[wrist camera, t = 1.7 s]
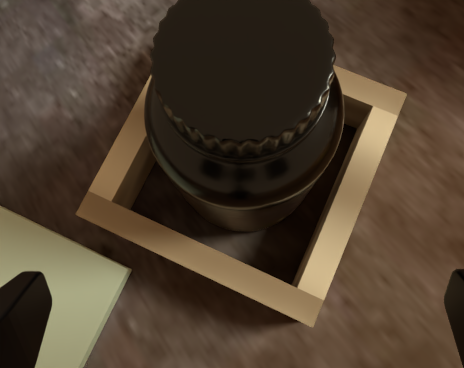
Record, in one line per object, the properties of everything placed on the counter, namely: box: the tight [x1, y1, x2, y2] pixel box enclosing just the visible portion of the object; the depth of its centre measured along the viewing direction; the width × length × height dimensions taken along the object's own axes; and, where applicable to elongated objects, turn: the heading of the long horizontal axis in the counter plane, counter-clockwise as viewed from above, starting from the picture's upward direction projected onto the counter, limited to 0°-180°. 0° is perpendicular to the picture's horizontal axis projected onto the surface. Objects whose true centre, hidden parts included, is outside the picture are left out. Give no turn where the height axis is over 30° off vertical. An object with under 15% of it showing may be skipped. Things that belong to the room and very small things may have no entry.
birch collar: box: [75, 65, 407, 327], centre depth 21 cm, size 11×11×3 cm
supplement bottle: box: [144, 0, 344, 232], centre depth 17 cm, size 7×7×12 cm
